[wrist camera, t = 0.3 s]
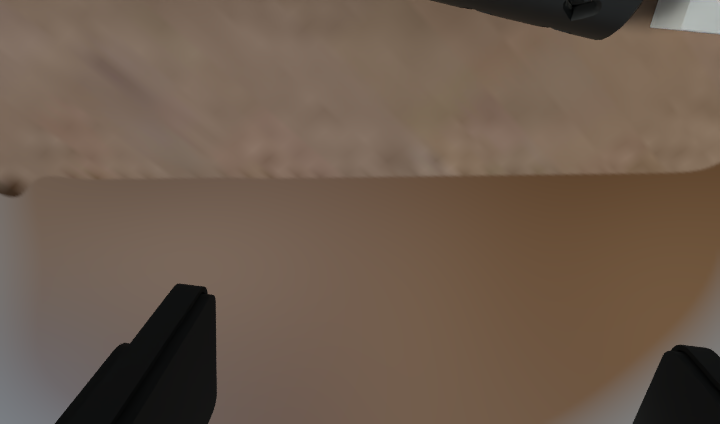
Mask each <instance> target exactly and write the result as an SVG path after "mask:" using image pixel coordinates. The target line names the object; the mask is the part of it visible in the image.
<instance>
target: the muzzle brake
mask: <svg viewBox="0 0 720 424" xmlns="http://www.w3.org/2000/svg"><path fill="white" fill-rule="evenodd" d="M431 1H435V2H439V3H444V4H448V5H452V6H456V7H460V8H467V9H475V10H477V11H480V12H483V13H487V14H490V15H494V16H498V17H502V18H506V19H510V20H514V21H519V22H523V23H527V24H531V25H535V26H541V27H547V28H548V27H551V28H553V29H555V30H559V31H562V32H566V33H569V34H573V35H577V36H581V37H585V38H589V39H594V40H602V39H604V38H607V37H609V36H610V35H612V34H613V33H614V32H616V31H617V30H618V29H620V28H621V27H622V26H623V25H624V24H625V23H626V22H627V21H628V20H629V19H630V18H631V16H632V15H633V14H634V13H635V11H636V10H637V9H638V8H639V6H640V5H641V3H642V2H643V0H592V2H591V0H431Z"/></svg>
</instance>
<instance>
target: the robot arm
mask: <svg viewBox="0 0 720 424" xmlns="http://www.w3.org/2000/svg"><path fill="white" fill-rule="evenodd" d="M215 303H216V301H215V296H214V295H209V294H207V289H206V288H205V287H202V286H194V285H186V284H177V285H175V286H174V288H173V289H172V290H171V291H170V293H169V294H168V295H167V296H166V298H165V299H164V300H163V302H162V303H161V304H160V306H159V307H158V308H157V309H156V311H155V312H154V313H153V315H152V316H151V317H150V318H149V320H148V321H147V322H146V324H145V325H144V326H143V328H142V329H141V330H140V331H139V333H138V334H137V335H136V337H135V338H134V339H133V341H132V342H131V343H130V344H129V343H123V344H121V345H119V346H118V347H117V348H116V349H115V350H114V351H113V352H112V353H111V355H110V356H109V357H108V358H107V359H106V361H105V362H104V363H103V364H102V366H101V367H100V368H99V369H98V371H97V372H96V373H95V374H94V376H93V377H92V378H91V379H90V381H89V382H88V383H87V384H86V386H85V387H84V388H83V390H82V391H81V392H80V393H79V394H78V396H77V397H76V398H75V399H74V401H73V402H72V403H71V404H70V405H69V407H68V408H67V409H66V411H65V412H64V413H63V414H62V415H61V417H60V418H59V419H58V420H57V422H56V423H55V424H208V422H209V420H210V418H211V415H212V413H213V410H214V407H215V403H216V396H217V378H216V304H215ZM633 424H720V357H719V356H718V355H717V354H716V353H715V352H714V351H712V350H711V349H708V348H703V347H695V346H686V345H676V346H675V347H674V348H672V350H671V351H667V352H666V353H664V355H663V357H662V359H661V361H660V363H659V366H658V368H657V370H656V372H655V375H654V377H653V379H652V382H651V384H650V386H649V388H648V390H647V393H646V395H645V397H644V399H643V401H642V404H641V406H640V408H639V411H638V413H637V415H636V418H635V419H634V422H633Z"/></svg>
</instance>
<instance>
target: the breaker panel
mask: <svg viewBox="0 0 720 424" xmlns="http://www.w3.org/2000/svg"><path fill="white" fill-rule="evenodd" d="M650 28H660V29H670V30H679V31H689V32H699V33H709V34H718V35H720V0H658V3H657V6H656V9H655V12H654V16H653V19H652V22H651V25H650Z"/></svg>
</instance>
